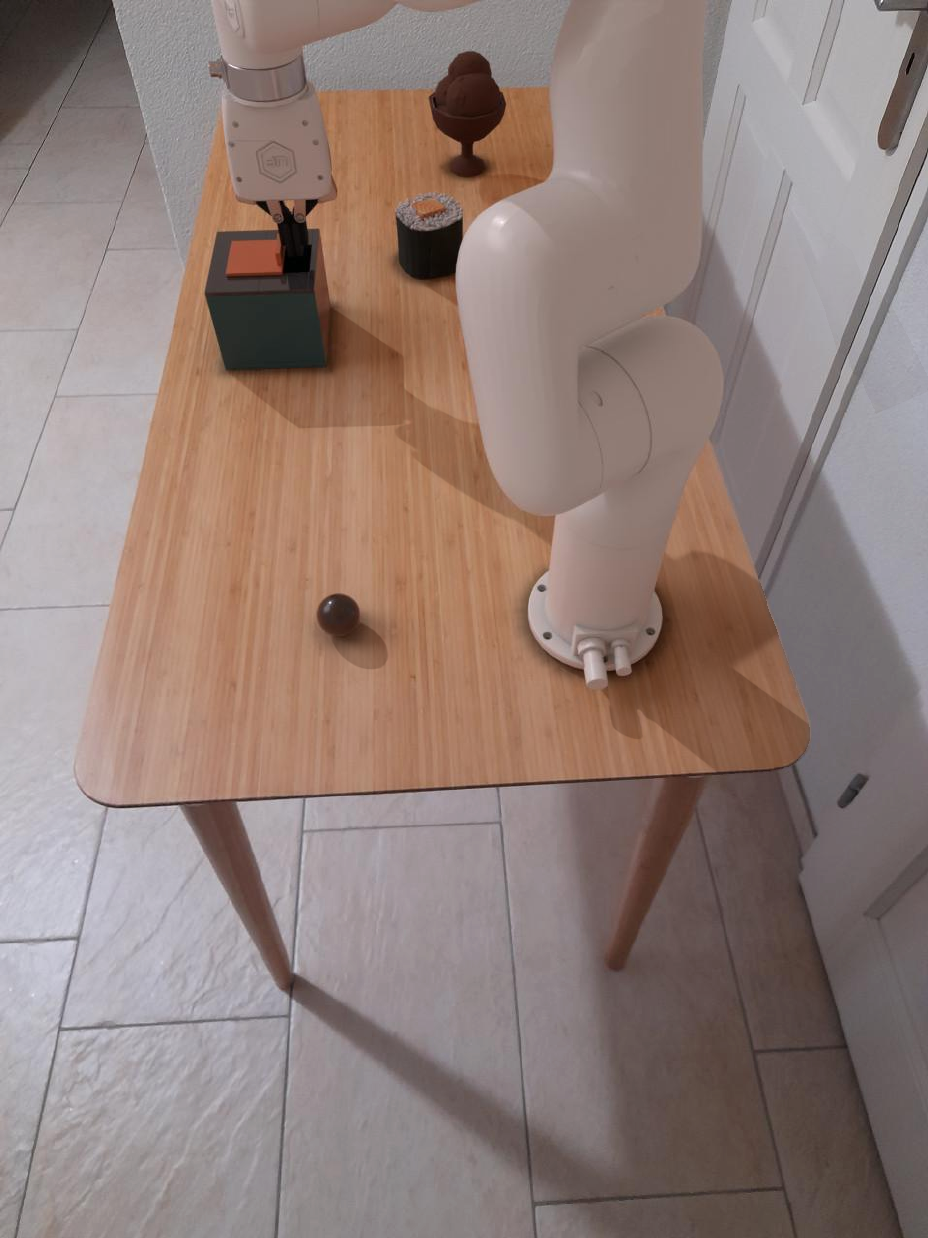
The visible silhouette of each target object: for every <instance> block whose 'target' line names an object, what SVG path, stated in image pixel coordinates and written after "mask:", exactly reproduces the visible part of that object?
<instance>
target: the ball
mask: <svg viewBox="0 0 928 1238" xmlns="http://www.w3.org/2000/svg"><path fill="white" fill-rule="evenodd" d="M360 620H361V609H360V606H359V605H358V603H357V602H356V600H355V599H354V598H353V597H351V596H350V595H348V594H346V593H339V592H338V593H337V592H336V593H331V594H329V595H327V596H325V597H324V598H323V599H322V600H321V601H320V603H319V604H318V606H317V609H316V621H317V624H318V626H319V627H320V628H321V630H322V631H324V633H326V634H328V635H329V636H333V637H344V636H347V635H349V634H351V633H352V632H354V630H355V629H357V627H358V626H359V623H360Z"/></svg>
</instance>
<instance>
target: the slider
mask: <svg viewBox="0 0 928 1238" xmlns="http://www.w3.org/2000/svg"><path fill="white" fill-rule="evenodd" d="M285 249H286V246H281V242H280V237H279V233H278V235H277V240H249V241H232V243H231V248H230V254H229V259H228V264H227V270H226V276H227V277H229V276H261V275H282V273H283V265H284V257H285Z"/></svg>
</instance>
